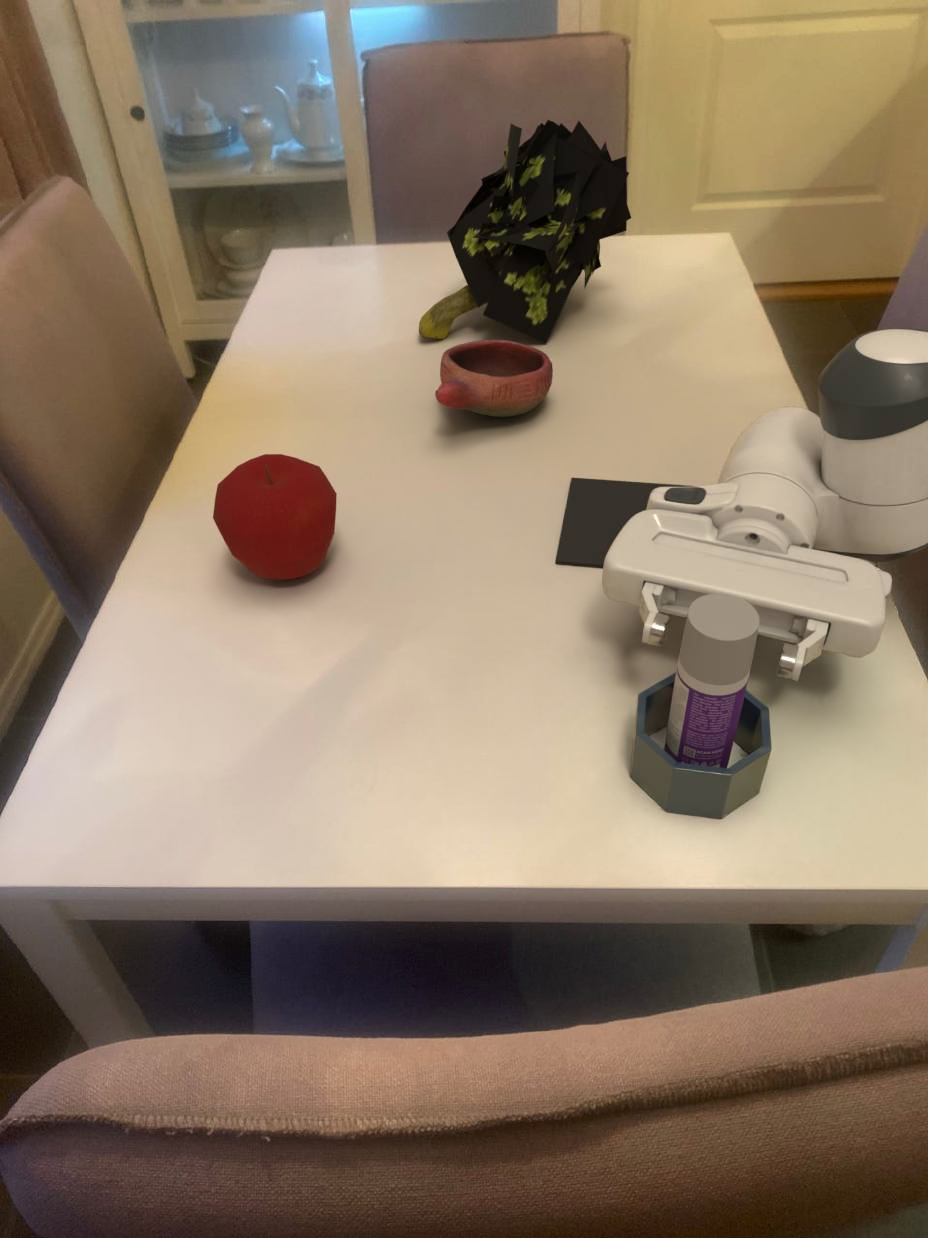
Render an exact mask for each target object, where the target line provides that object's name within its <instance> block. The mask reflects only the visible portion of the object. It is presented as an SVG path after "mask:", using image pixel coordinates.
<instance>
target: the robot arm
mask: <svg viewBox="0 0 928 1238" xmlns="http://www.w3.org/2000/svg"><path fill="white" fill-rule="evenodd" d="M817 392H818V393H817V394H818V404H819V405H818V407H819V415H818V414H817V413H815V412H814V411H811V410H809V409H806V408H803V407H799V406H782V407H778V408H774V409H773V408H772V409H771V410H769V411H766V412H765V413H763V414H761V415H759V416H758V417H756V418H755V419H754V420H753V421H751V422H750V423H749V424H748V425H747V426H746V427H744V429H743V430H742V431H741V433H740V434H739V436H738V437H737V439H736V440H735V441H734V443H733V445H732V447H731V449H730V451H729V453H728V455H727V456H726V459H725V461H724V464H723V466H722V469H721V470H720V474H719V478H718V480H717V483H714V484H707V485H693V486H694V487H659V488H655V489H654V490H653V491H652V492H651V494H650V497H649V500H648V504H647V508H646V510H645V511H642V512H639V513H637V514H636V515H634V516H633V517H632V518H631V519H630V520H629V521H628V522H627V523H626V524H625V526H624V527H623V528H622V530H621V531H620V532H619V534H618V535H617V537H616V538H615V540H614V542H613V543H612V545H611V547H610V549H609V550H608V553H607V555H606V557H605V560H604V566H603V568H602V574H601V575H602V576H601V588H602V591H603V592H604V594H605V596H606V598H607V599H609V600H611V601H613V602H616V603H622V604H626V605H630V606H635V607H638V608H639V610H638V611H639V612H638V613H639V616H640V618H641V621H642V622H643V630H642V636H641V637H642V638H641V643H643V644H649V645H652V646H656V647H660V648H663V646H664V641H665V640H666V637H667V634H668V629H669V627H668V626H669V623H670V615H673V616H678V617H682V618H685V619H687V613H688V609H689V607H690V605H691V604H692V603H693V602H694V601H695V600H696V599H698V598H699V597H702V596H704V595H708V594H729V595H733V596H736V597H739V598H741V599H743V600H745V601H747V602H748V603H750V604H751V605H752V606H753V607H754V608H755V610H756V611H757V613H758V615H759V619H760V623H759V628H758V633H757V636H762V637H766V638H771V639H775V640H779V641H783V642H784V644H783V648H782V651H781V654H780V658H779V662H778V667H777V671H776V676H778V677H782V678H786V679H789V680H793V681H798V682H799V678H800V675H801V672H802V668H803V667H804V666H806V665H808V664H809V663H810V662H812V661H814V660H815V659H817V658H818V657H820V656H821V654H822V651H826V652H831V653H834V654H839V655H843V656H847V657H851V658H855V659H860V658H864V657H866V656H868V655H870V654H872V653H873V652H875V650H876V648H877V646H878V643H879V641H880V639H881V636H882V633H883V629H884V626H885V623H886V615H887V613H886V611H887V606H886V604H887V603H886V601H888V600H889V599H890V597H891V596H892V589H893V578H892V575H891V574H890V573H889V572H887V571H885V570H883V569H881V568H880V567H878V566H875V563H886V562H891V561H895V560H898V559H902V558H905V557H908V556H910V555H913V554H915V553H917V552H920V551H921V550H923V549H924V548H926V547H928V329H920V328H905V327H894V328H893V327H892V328H879V329H874V330H870V331H867V332H864V333H861V334H859V335H858V336H856V337H854V338H853V339H852V340H851V341H849V342H848V343H847V344H846V345H844V347H842V348H841V349H840V350H839V351H838V352H837V353H836V354H835V356H834V357H833V358H831V359H830V360H829V362H828V363H827V364H826V366H825V367H824V368H823V370H822V371H821V372H820V374H819V376H818V379H817ZM819 416H820V417H819ZM660 612H661V613H660ZM664 613H665V614H664ZM667 614H669V615H667ZM786 642H788V643H786ZM790 643H792V644H790ZM795 644H796V645H795Z"/></svg>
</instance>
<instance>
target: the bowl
mask: <svg viewBox="0 0 928 1238" xmlns="http://www.w3.org/2000/svg"><path fill="white" fill-rule="evenodd" d="M440 359H441V360H440V366H439V367H440V368H439V376H440V377H439V378H440V382H441V384H440V385H439V386H438V388H437V389H436V390H435V393H434V395H435V399H436V401H437V403H439V404H440V405H442V406H443V407H446V408H450V409H454V410H465V411H470V412H472V413H475V414H479V415H483V416H488V417H500V418H501V417H502V418H506V417H515V416H519V415H522V414H525V413H528V412H531V411H532V410H533V409H535V408H536V407H537V406H538V405H539V404H541V403H542V402H543V400H544V399H545V398H546V397H547V395H548V394H549V392H550V388H551V386H552V383H553V377H554V376H553V372H554V368H553V362H552V361H551V360H550V357H549V356H548V354H547V353H546V352H544V351H542V350H540V349H538V348H535V347H533V346H530V345H527V344H524V343H520V342H516V341H512V340H507V339H506V340H505V339H481V340H474V341H468V342H464V343H460V344H457V345H454V346H452V347H450V348H448V349H446V350H445V351H444V352H443V353H442V356H441V358H440Z"/></svg>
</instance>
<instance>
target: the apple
mask: <svg viewBox="0 0 928 1238" xmlns="http://www.w3.org/2000/svg"><path fill="white" fill-rule="evenodd" d="M336 516H337V491H335V488H334V487H333V485H332V483H331V482H330V480H329V478H328V477H327V475H326V474H325V472H324V471H323V470H322V468H321V466H319V465H316V464H314V463H311V462H309V461H307V460H303V459H300V458H297V457H295V456H290V455H286V454H282V453H265V454H262V455H259V456H255V457H253V458H250V459H248V460H246V461H244V462H242V463H241V464H239V465H237V466H236V467H235V468H233V470H231V471H230V472H229V474H227V475H226V476H225V477H224V478H223V479H222V480H220V482H219V483H217V487H216V492H215V497H214V505H213V514H212V519H213V522H214V523H215V526H216V528H217V530H218V531H219V534H220V535H221V538H222V539H223V541H224V543H225V545H226V546H227V549H228V550H229V552H230V554H231V556H233V558H234V559H236V560H237V561H238V562H240V564H241V565H243V566H244V567H245V568H247V570H248V571H250V572H251V573H253V574H255V575H257V576H259V577H261V578H265V579H269V580H270V579H271V580H274V581H281V580H283V581H284V580H293V579H297V578H301V577H305V576H308V575H309V574H310V573H312V572H313V571H315V570H317V569H318V568H320V566H321V565H322V563H323V562H324V561H325V559H326V557H327V554H328V551H329V548H330V546H331V543H332V540H333V538H334V535H335V529H336Z"/></svg>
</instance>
